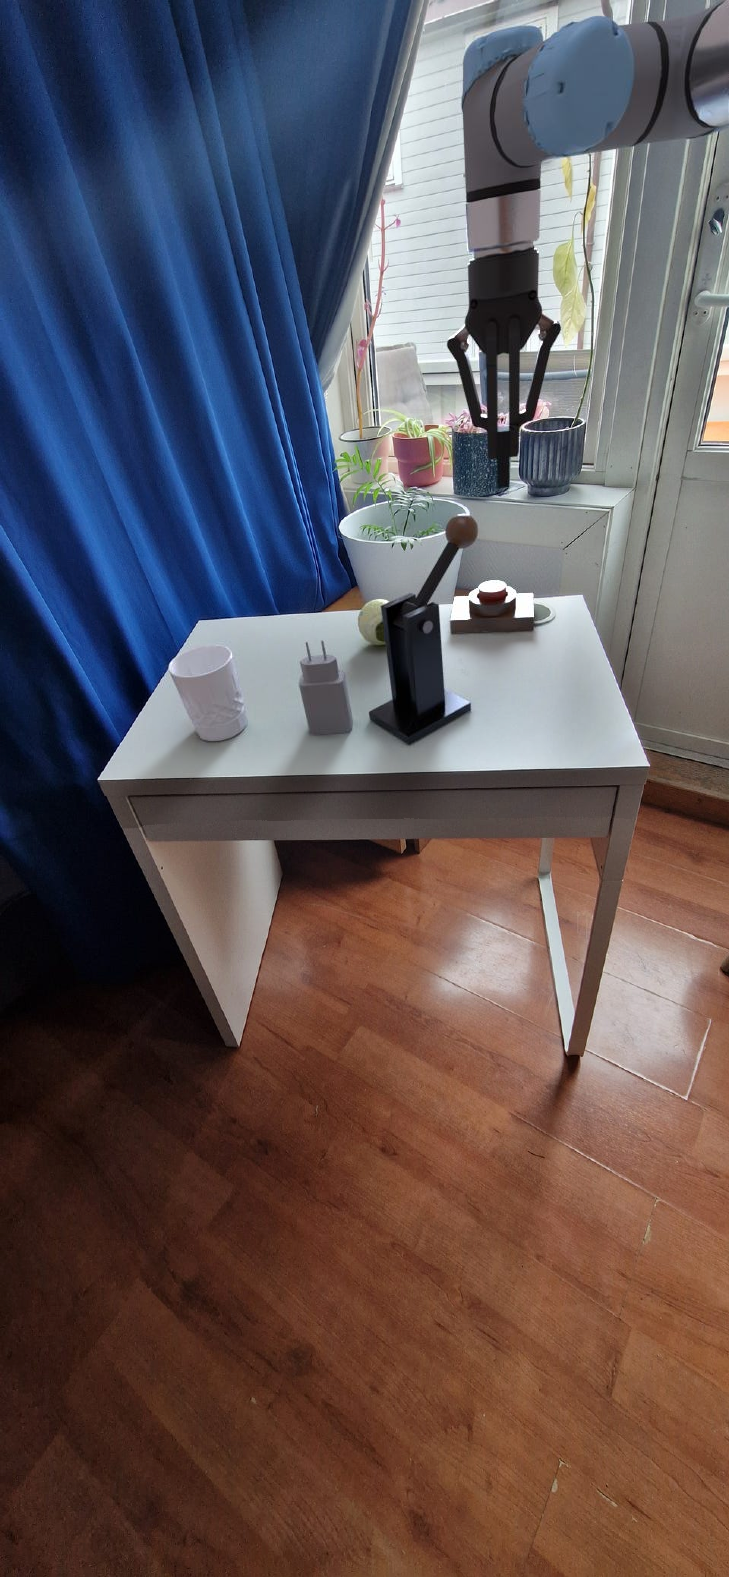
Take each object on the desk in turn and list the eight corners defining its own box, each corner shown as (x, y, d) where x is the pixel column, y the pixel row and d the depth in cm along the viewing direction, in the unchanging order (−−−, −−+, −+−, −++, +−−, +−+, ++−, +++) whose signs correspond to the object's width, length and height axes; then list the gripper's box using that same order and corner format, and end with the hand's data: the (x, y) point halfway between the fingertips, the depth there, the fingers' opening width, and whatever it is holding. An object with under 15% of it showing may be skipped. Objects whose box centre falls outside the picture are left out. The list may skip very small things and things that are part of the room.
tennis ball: (359, 636, 101) (353, 595, 97) (402, 629, 101) (398, 588, 96) (362, 655, 96) (356, 613, 92) (407, 649, 96) (403, 606, 91)
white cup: (257, 708, 88) (238, 642, 82) (243, 743, 82) (222, 674, 76) (202, 712, 90) (179, 647, 83) (185, 746, 84) (159, 679, 77)
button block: (533, 606, 101) (533, 581, 98) (533, 630, 95) (534, 605, 92) (455, 609, 103) (453, 585, 101) (450, 633, 97) (449, 608, 95)
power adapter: (312, 721, 84) (293, 637, 77) (353, 718, 83) (338, 633, 76) (308, 735, 82) (289, 649, 74) (351, 732, 81) (335, 645, 73)
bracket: (429, 687, 87) (420, 580, 77) (471, 710, 81) (467, 598, 72) (369, 719, 83) (352, 610, 73) (409, 745, 77) (396, 631, 68)
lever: (467, 522, 74) (450, 504, 72) (490, 528, 72) (473, 510, 69) (403, 632, 76) (385, 619, 74) (423, 642, 74) (405, 628, 71)
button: (506, 591, 98) (506, 579, 97) (505, 602, 95) (505, 591, 94) (479, 592, 99) (479, 581, 98) (478, 604, 96) (477, 592, 95)
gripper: (564, 239, 71) (554, 471, 86) (445, 260, 74) (455, 481, 89) (568, 240, 65) (556, 488, 80) (438, 263, 68) (450, 498, 83)
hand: (503, 484), depth 84 cm, fingers closed
